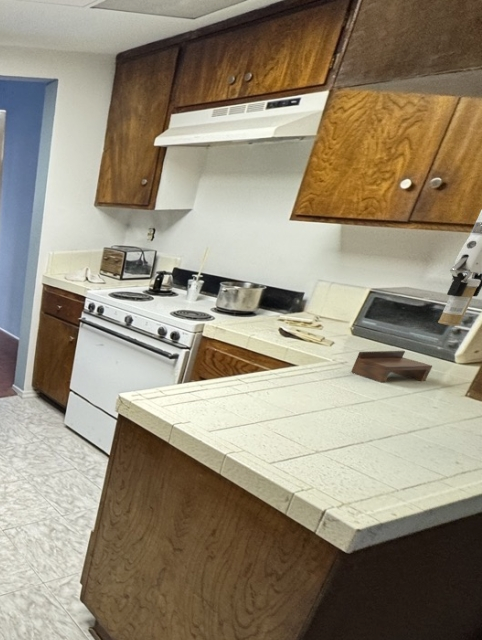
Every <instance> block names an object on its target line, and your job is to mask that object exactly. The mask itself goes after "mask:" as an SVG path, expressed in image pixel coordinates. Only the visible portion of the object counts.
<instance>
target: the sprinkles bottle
mask: <svg viewBox="0 0 482 640" xmlns="http://www.w3.org/2000/svg"><path fill="white" fill-rule="evenodd" d="M480 282H481V280H478V279H472V278H470V277H469V278H468V280H467V281H466V282H465V283H468V284H467V286H466V288H465V290H464V292H463V294H462V296H460V297H458V296H451V295H449V298H448V299H447V302H446V304H445V306H444V309H443V311H442V312H441V313H442V314H441V316H440V318H439V320H438V321H437V323H439V324H440V325H445V326H453V327H454V326H455V327H457V326H461V322H462V320H463V318H464V316H465V314H466V312H467V311H468V309H469V307H470V303H471V301H472V300H473V297H474V296H473V295H474V293H475V290H476V288H477V287H478V286H479V284H480Z"/></svg>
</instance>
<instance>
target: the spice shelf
mask: <svg viewBox="0 0 482 640" xmlns="http://www.w3.org/2000/svg"><path fill="white" fill-rule="evenodd" d="M405 352H406V351H405V350H370V351H359V352H358V355H357V356H356V359H355V361H354V364H353V366H352V368H351V371H350V373H351V372H352V373H351V374H354V373H355V375H357V376H360V377H364V378H367V379H369V380H373V381H376V382H379V383H386V382H387V379H388V377H389V376H390V373H393V374H397V375H400V376H403V377H407V378H410V379H413V380H415V381H419V382H425V381H426V380H427V378H428V377H429V375H430V372H431V370H432V368H433V365H432V364H428V363H424V362H421V361H417V360H413V359H410V358H406V357H404V355H405V354H406V353H405Z"/></svg>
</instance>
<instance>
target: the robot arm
mask: <svg viewBox="0 0 482 640" xmlns="http://www.w3.org/2000/svg"><path fill="white" fill-rule="evenodd" d="M449 272H450V273H451V277H452V279H451V284H450V287H449V288H448V291H447V293H446V294H447V296H450V295H451V296H458V297H460V296H462V294H463V292H464V290H465V288H466V286H467V284H468V283H465V282H466V281H467V280H468V278H470V277H471V279H478V280H481V282H480V284H479V286H478V287H477V288H476V290H475V293H474V295H473V297H478V296H479V294H480V291H481V290H482V209H481V210H480V212H479V215H478V217H477V218H476V220H475V223H474V225H473V227H472V230H471V231H470V234H469V236H468V238H467V239H466V241H465V242H464V244H463V245H462V247H461V249H460V250H459V253H458V254H457V257H456V259H455V261H454V264H453V266H452V267H451V268H450V269H449Z"/></svg>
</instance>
